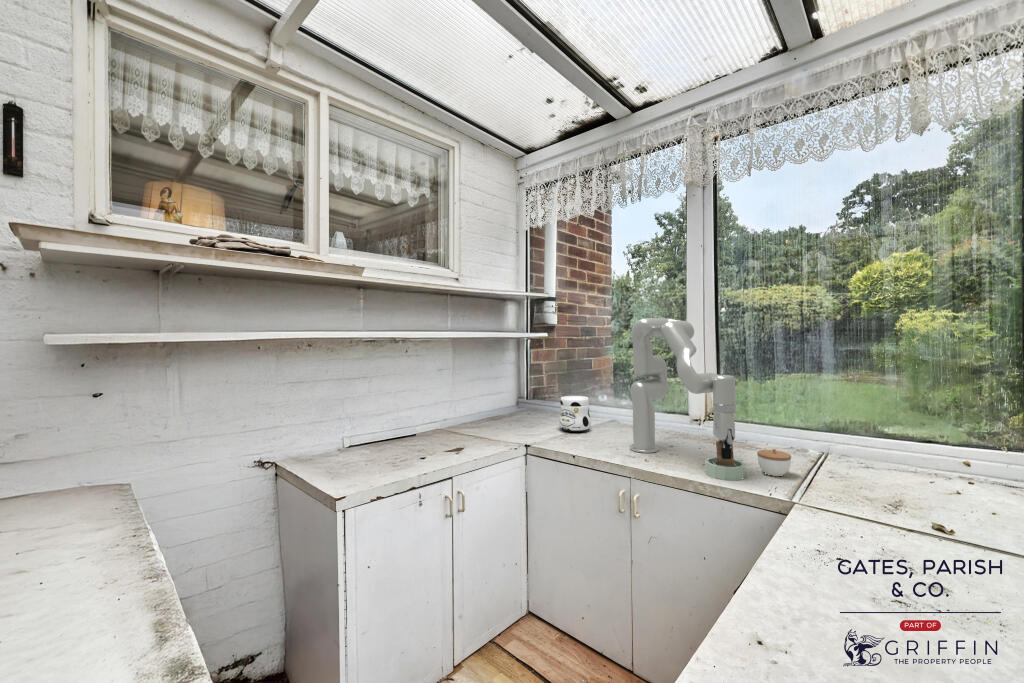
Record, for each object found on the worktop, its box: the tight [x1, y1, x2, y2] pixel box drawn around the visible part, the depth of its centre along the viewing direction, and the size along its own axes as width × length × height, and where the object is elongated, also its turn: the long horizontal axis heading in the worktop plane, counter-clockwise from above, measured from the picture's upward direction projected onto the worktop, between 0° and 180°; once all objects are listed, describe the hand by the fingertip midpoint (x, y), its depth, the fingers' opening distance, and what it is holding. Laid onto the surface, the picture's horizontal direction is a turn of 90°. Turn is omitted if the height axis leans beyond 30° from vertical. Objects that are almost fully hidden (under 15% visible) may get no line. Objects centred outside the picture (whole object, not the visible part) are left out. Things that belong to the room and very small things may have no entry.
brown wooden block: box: [715, 440, 735, 465], centre depth 159 cm, size 2×5×10 cm, turn 82°
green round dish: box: [704, 456, 746, 481], centre depth 159 cm, size 13×13×4 cm
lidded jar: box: [756, 448, 792, 477], centre depth 159 cm, size 11×11×9 cm
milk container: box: [558, 395, 592, 433], centre depth 234 cm, size 17×17×18 cm
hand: (725, 457), depth 159 cm, fingers closed on brown wooden block, 2 cm apart
